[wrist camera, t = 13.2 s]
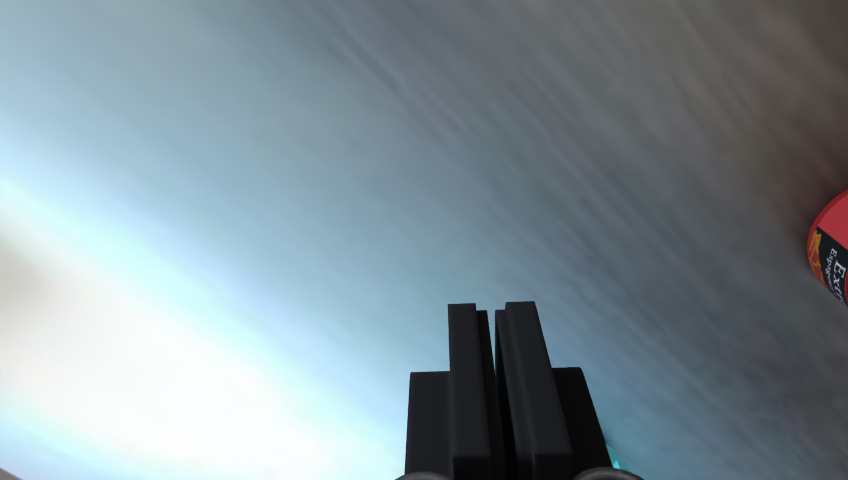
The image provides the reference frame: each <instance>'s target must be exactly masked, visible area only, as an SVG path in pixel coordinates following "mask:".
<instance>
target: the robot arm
mask: <svg viewBox="0 0 848 480" xmlns="http://www.w3.org/2000/svg"><path fill="white" fill-rule="evenodd" d="M448 324H449V357H450V371H437V372H411V374H410V385H409V403H408V421H407V439H406V457H405V475H403V476H401V477H399V478H397V479H395V480H644V479H642V478H641V477H640V476H637V475H635V474H633V473H631V472H628V471H626V470H622V469H617V468H613V465H612V462H611V459H610V456H609V453H608V449H607V446H606V443H605V440H604V437H603V434H602V431H601V427H600V424H599V421H598V418H597V415H596V412H595V409H594V406H593V402H592V399H591V396H590V393H589V390H588V387H587V384H586V380H585V377H584V374H583V372H582V369H581V368H580V367H568V368H551V364H550V360H549V356H548V352H547V348H546V344H545V340H544V336H543V332H542V328H541V324H540V320H539V316H538V312H537V309H536V305H535V302H534V301H525V302H506V305H505V310H495V370H494V362H493V354H492V347H491V339H490V331H489V323H488V315H487V310H479V311H476V304H475V303H467V304H448Z"/></svg>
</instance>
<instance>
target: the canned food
mask: <svg viewBox="0 0 848 480" xmlns="http://www.w3.org/2000/svg"><path fill="white" fill-rule="evenodd" d="M807 255H808V259H809V263H810V266H811V268H812V270H813V272H814V274H815V276H816V278H817V279H818V280H819V281H820V282H821V283H822V284H823V285H824V286H825V287H826V288H827V289H828V290H829V291H830V292H831V293H832V294H833V295H834V296H835V297H836V298H837V299H839V300H840V301H841V302H842V303H843V304H844V305H845V306H846V307H847V308H848V189H847V190H845V191H843V192H842V193H841V194H839V195H838V196H836V197H835V198H834V199H832V200H831V201H830V202H829V203H828V204H827V205H826V206H825V207H824V208H823V210H822V211H821V212H820V214H819V215H818V216H817V218H816V219H815V221H814V223H813V225H812V227H811V229H810V232H809V236H808V239H807Z"/></svg>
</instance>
